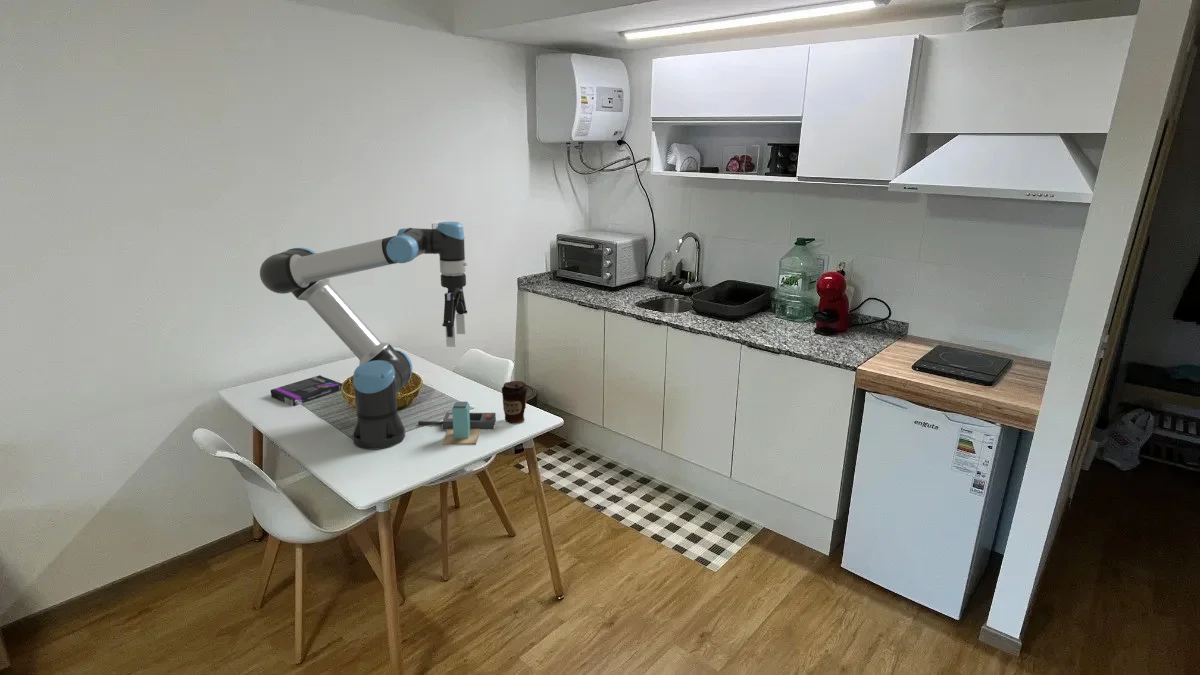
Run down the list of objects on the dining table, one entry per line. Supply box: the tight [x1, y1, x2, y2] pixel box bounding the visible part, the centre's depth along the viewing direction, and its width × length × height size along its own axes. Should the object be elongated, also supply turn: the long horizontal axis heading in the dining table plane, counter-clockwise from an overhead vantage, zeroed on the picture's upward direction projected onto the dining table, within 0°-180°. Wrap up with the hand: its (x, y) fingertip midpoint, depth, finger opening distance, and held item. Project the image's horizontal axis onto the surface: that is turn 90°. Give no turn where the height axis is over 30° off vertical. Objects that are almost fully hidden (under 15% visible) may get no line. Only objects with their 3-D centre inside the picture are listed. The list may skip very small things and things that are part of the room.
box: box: [270, 374, 343, 407], centre depth 226 cm, size 14×4×20 cm
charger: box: [451, 401, 471, 439], centre depth 193 cm, size 4×4×11 cm
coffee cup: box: [501, 380, 528, 425], centre depth 206 cm, size 9×8×13 cm
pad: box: [442, 429, 481, 445], centre depth 195 cm, size 10×10×1 cm
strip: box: [417, 412, 497, 431], centre depth 203 cm, size 25×7×3 cm, turn 93°
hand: (456, 339), depth 198 cm, fingers open, 13 cm apart
